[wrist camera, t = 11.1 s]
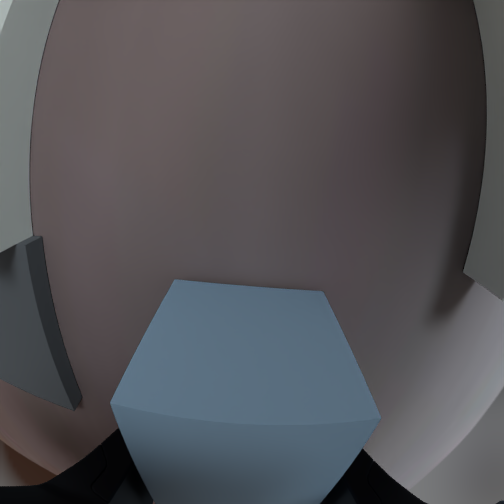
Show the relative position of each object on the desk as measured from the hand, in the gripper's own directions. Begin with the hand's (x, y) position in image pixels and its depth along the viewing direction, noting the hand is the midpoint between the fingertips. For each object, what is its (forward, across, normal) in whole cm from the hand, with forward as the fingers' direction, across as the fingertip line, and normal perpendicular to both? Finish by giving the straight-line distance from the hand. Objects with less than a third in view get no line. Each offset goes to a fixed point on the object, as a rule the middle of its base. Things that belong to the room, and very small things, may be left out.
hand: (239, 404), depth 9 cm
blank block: (+1, 0, 0) cm, 1 cm away
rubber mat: (+1, +13, -1) cm, 13 cm away
